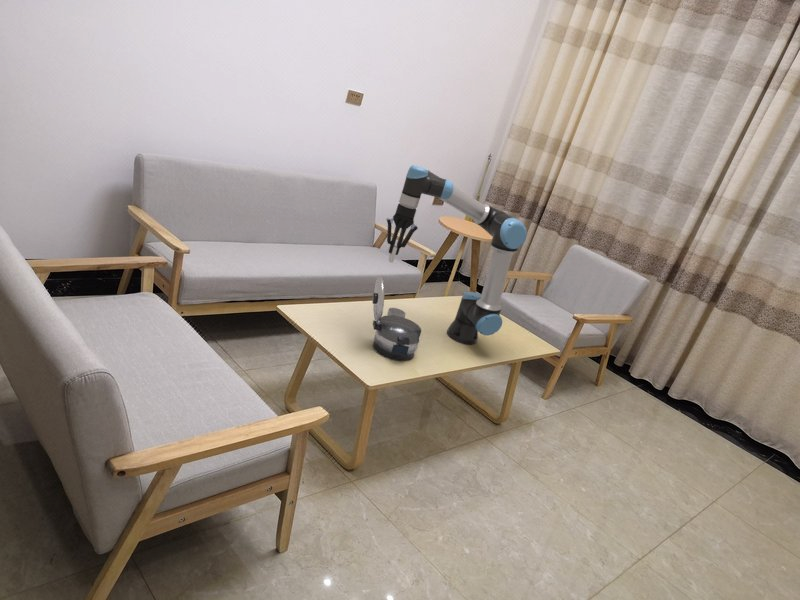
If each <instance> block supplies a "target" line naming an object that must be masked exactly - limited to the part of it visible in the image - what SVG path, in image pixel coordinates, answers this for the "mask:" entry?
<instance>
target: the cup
mask: <svg viewBox="0 0 800 600" xmlns="http://www.w3.org/2000/svg"><path fill="white" fill-rule="evenodd" d="M387 311H388V312H387V315H386V316H388V315H394V316H399V317H403V318H405V317H406V315H407V313H406V312H405V311H404V310H402V309H400V308H397V307H390V308H388V310H387Z"/></svg>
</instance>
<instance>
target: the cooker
mask: <svg viewBox="0 0 800 600" xmlns="http://www.w3.org/2000/svg"><path fill="white" fill-rule="evenodd" d="M372 327H373V330H375V333H374V337H373V343H372V348H373V350H374V351H375V352H376V353H378V354H379V355H380V356H382V357H384V358H386V359H389V360H393V361H398V362H406V361H407V362H408V361H411V360H412V359H413V358H414V356H415V353H416V351H417V350H418V346H419V342H420V337H421V334H422V328H421V327H420V326H419V324H418V323H415V322H414V321H412V320H410V319H408V318H403V317H399V316H394V315H388V316H387V315H382V317H381V320H380V325H379V326H378V325H377V323H376V321H375V320H372Z"/></svg>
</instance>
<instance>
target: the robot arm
mask: <svg viewBox="0 0 800 600" xmlns="http://www.w3.org/2000/svg"><path fill="white" fill-rule="evenodd" d="M422 194H423V195H426V196H431V197H435V198H436V199H437V198H438V199H439V200H441V201H443V203H445V204H448V205H449V206H450V207H452V208H454V209H456V210H457V211H459V212H461V213H462V214H464V215H466V216H467V217H469V218H470V219H473V222H474V224H475V225H478V226H479V227H481V228H482V229H483V230H484V231H485V232H487V234H489V235H490V236H491V237H492V238H491V242H490V246H491V248H492V253H491V257H490V261H489V265H488V268H487V271H486V276H485V280H484V284H483V288H482V292H481V293H478V292H474V291H465V292H464V293H463V295H462V297H461V300H460V302H459V306H458V309H457V311H456V314H455V318H454V320H453V321H452V322H451V323H450V325H449V326H448V327H447V330H446V335H447V336H448V337H450V338H451V339H452V340H454V341H456V342H459V343H462V344H466V345H474V344H476V343H477V342H478V339H479V338H478V336H479V335H478V334H481V335H483V336H491V335H492V336H493V335H494V334H495V333H498V332H499V331H500V329H501V328H502V325H503V318H502V316H501V311H502V305H501V304H500V303H501V298H502V294H503V291H504V287H505V283H506V280H507V278H508V277H507V276H508V272H509V269H510V266H511V262H512V258H513V255H514V254H515V253H517V252H518V250H519V248H520V247H522V245H524V244H525V242H526V239H527V237H528V233H527V228H526V226H525V224H524V223H523V222H521V221H520V220H519V219H518V218H516V217H514V216H511V215H510V214H508V213H507V212H505V211H503V210H499V209H497V208H495V207H493V206H491V205H489V204H488V203H481V202H480V201H478V200H477V199H475V198H473V197H471V195H469V194H467V193H466V192H464V191H462V190H460V189H459V188H457V187H456V186H454V183H453V181H451V180H449V179H447V178H446V179H445V178H442V177H439V176H438V175H436V174H434V173H433V172H431V171H430V170H429V169H427V168H425V167H422V166H419V165H414V164H413V165H411V166H409V168H408V170H407V173H406V176H405V180H404V184H403V187H402V190H401V194H400V197H399V200H398V204H397V207H396V210H395V213H394V215H393V216H391V217H390V218H389V217H387V218H386V223H387V232H386V233H387V235H386V242H387V244H389V248H388V253H389V256H388V262H389V263H392V264H393V263H394V260H395V257H396V256H397V255H399V253H400V249H402V248H406V247H407V244H408V243H409V241H410V240H411V237H412V236H413V234H414V233H415V232H416V231H417V230H418V229H419V228H418V226H417V224H415V223H414V222H415V219H414V218H415V216H416V213H417V209H416V208H418V206H419V203H420V199H421V196H422ZM393 221H394V222H393ZM393 223H394V225H395V228H394V231H393V234H392V229H393V228H392V224H393ZM409 228H410V229H409ZM407 229H409V231H408V232H407ZM399 232H400V233H399ZM406 232H407V234H406ZM405 234H406V236H405ZM398 235H399V236H398ZM404 236H405V237H404ZM397 238H398V239H397ZM396 241H397V243H396Z"/></svg>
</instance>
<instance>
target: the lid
mask: <svg viewBox="0 0 800 600" xmlns="http://www.w3.org/2000/svg"><path fill="white" fill-rule="evenodd" d="M384 304H385V280H384V277H383V276H377V277H376V280H375V285H374V291H373V294H372V305H373V306H372V307H373V317H374V321H376V323H377V325H378V326H379V325H380V320H381V317H383V312H384V306H385V305H384Z"/></svg>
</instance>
